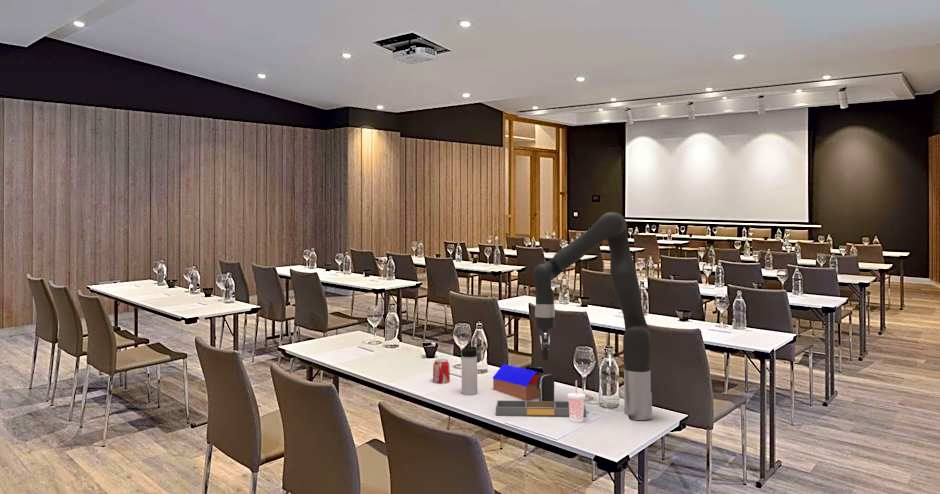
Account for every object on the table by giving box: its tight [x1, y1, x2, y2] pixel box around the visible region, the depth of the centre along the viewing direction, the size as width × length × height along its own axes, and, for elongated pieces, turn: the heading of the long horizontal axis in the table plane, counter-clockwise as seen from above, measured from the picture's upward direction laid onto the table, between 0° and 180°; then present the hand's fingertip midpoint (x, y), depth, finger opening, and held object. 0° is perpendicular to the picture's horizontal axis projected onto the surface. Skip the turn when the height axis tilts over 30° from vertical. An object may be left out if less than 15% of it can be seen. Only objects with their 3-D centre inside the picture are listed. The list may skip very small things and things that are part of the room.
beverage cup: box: [567, 379, 586, 423], centre depth 228 cm, size 6×6×14 cm
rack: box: [495, 400, 587, 418], centre depth 238 cm, size 32×10×3 cm, turn 85°
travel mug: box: [461, 346, 478, 396], centre depth 262 cm, size 6×7×20 cm
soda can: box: [432, 358, 451, 385], centre depth 278 cm, size 7×7×12 cm
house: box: [492, 364, 541, 401], centre depth 264 cm, size 12×20×12 cm, turn 39°
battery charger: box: [537, 373, 555, 401], centre depth 250 cm, size 7×4×11 cm, turn 132°
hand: (544, 357), depth 250 cm, fingers open, 8 cm apart
